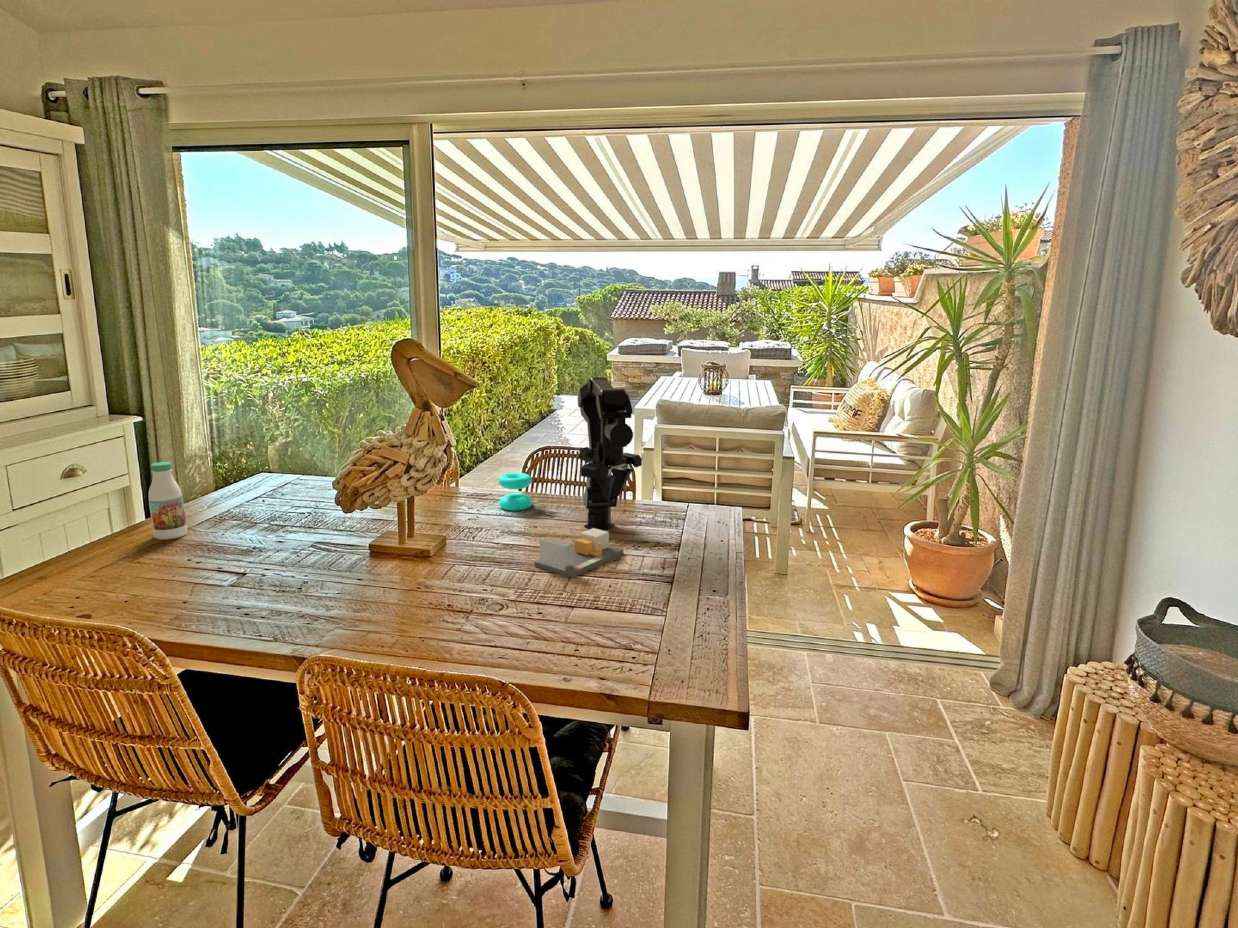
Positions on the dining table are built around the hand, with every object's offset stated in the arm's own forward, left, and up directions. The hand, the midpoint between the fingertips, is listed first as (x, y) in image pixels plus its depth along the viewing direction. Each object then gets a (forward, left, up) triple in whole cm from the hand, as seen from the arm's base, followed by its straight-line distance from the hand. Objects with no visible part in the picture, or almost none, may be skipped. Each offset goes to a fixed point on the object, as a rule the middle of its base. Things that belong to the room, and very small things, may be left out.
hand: (611, 497), depth 188 cm
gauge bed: (+13, 0, -13) cm, 18 cm away
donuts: (-9, -44, -13) cm, 47 cm away
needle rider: (+12, +2, -11) cm, 16 cm away
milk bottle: (+67, -98, -13) cm, 119 cm away
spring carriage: (+7, 0, -12) cm, 13 cm away
